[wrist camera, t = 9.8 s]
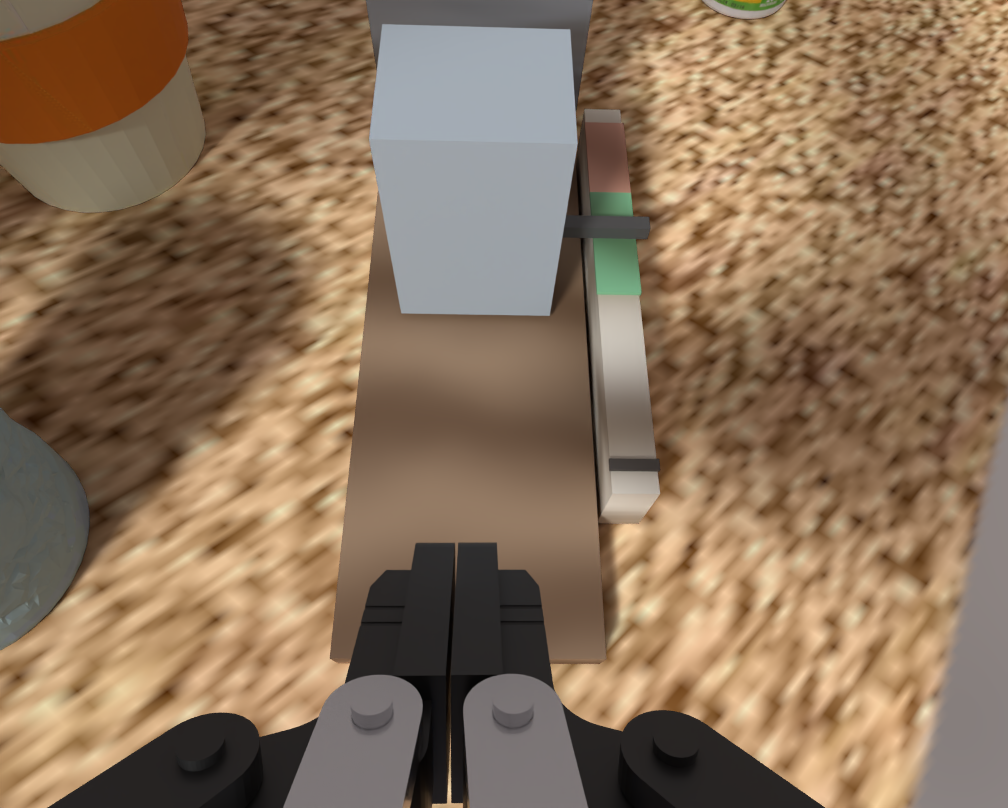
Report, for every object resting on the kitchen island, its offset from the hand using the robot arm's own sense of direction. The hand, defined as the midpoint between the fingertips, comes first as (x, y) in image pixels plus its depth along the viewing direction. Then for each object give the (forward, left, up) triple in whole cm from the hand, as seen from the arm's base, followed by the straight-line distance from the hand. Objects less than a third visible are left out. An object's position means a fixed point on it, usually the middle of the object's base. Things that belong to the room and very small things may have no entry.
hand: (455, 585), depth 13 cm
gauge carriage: (+2, +17, -11) cm, 20 cm away
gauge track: (0, +14, -12) cm, 19 cm away
